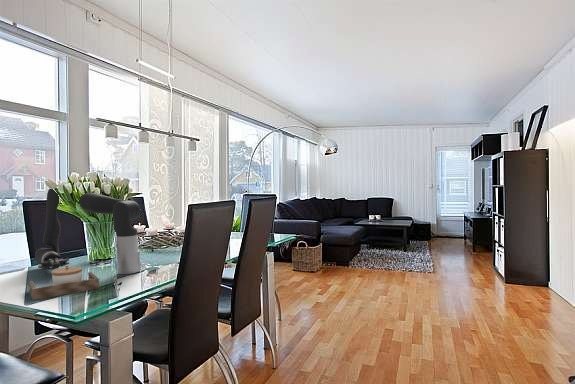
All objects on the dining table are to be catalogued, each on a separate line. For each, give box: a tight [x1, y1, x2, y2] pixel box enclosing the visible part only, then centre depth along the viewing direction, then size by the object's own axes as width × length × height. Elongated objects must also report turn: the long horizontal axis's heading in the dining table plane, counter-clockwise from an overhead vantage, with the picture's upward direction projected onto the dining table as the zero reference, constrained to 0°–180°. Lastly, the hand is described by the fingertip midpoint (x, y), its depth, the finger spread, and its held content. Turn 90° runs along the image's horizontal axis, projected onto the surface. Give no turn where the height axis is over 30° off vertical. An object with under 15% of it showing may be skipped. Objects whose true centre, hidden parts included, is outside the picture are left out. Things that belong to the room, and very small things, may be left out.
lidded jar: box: [51, 265, 83, 285], centre depth 159 cm, size 11×11×9 cm
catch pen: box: [28, 271, 100, 301], centre depth 158 cm, size 22×15×4 cm
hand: (56, 266), depth 175 cm, fingers closed
